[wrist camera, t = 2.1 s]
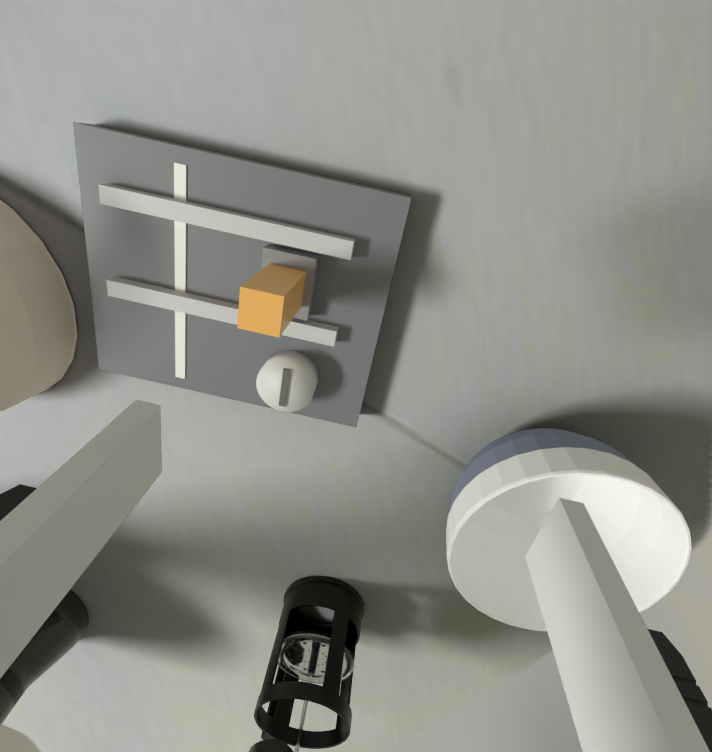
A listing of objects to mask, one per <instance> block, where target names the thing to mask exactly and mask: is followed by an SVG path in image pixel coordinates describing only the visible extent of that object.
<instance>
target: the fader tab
mask: <svg viewBox="0 0 712 752" xmlns="http://www.w3.org/2000/svg"><path fill="white" fill-rule="evenodd" d="M318 262H319V256H317V255H313V254H308V253H304V252H299V251H295V250H290V249H286V248H282V247H277V246H273V245H267V246H265V247H263V257H262V268H261V271H260V272H258V273H257V274H256V275H254V276H253V277H252V278H251V279H249V280H248V281H247V282H245V283H244V284H243V285H241V286H240V294H239V309H238V324H237V328H239V329H243V330H248V331H252V332H257V333H261V334H265V335H270V336H274V337H280V336H281V335H282V333H283V332H284V330H285V329H286V328H287V326H288V325H289V323H290V322H291V321H292V319H293V318H297V319H301V320H306V321H307V320H308V319H309V317H310V314H311V308H312V301H313V295H314V288H315V282H316V275H317V269H318Z"/></svg>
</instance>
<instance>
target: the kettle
mask: <svg viewBox="0 0 712 752" xmlns="http://www.w3.org/2000/svg"><path fill="white" fill-rule="evenodd" d="M77 335H78V334H77V326H76V318H75V309H74V304H73V301H72V299H71V296H70V294H69V291H68V288H67V286H66V283H65V280H64V278H63V275H62V273H61V271H60V269H59V268H58V266H57V265H56V263H55V261H54V260H53V258H52V257H51V255H50V253H49V252H48V250H47V249H46V247H45V246H44V244H43V242H42V241H41V240H40V239H39V237H38V236H37V235H36V234H35V233H34V232H33V231H32V230H31V229H30V228H29V226H28V225H27V224H26V223H25V222H24V221H23V220H22V219H21V218H20V217H19V215H18V214H17V213H16V212H15V211H14V210H13V209H12V208H10V207H9V206H8V205H6V204H5V203H4V202H3V201H1V200H0V411H2V410H6V409H8V408H10V407H12V406H14V405H16V404H18V403H20V402H22V401H24V400H26V399H28V398H30V397H32V396H34V395H36V394H38V393H41V392H44V391H46V390H47V389H48V388H50V387H51V386H52V385H54V384H55V383H56V382H58V381H59V380H60V379H62V377H63V376H64V374H65V372H66V371H67V369H68V367H69V366H70V364H71V362H72V361H73V358H74V352H75V347H76V341H77Z"/></svg>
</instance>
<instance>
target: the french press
mask: <svg viewBox="0 0 712 752" xmlns="http://www.w3.org/2000/svg"><path fill="white" fill-rule="evenodd" d="M303 606H320V607H326V608H329V609H332V610H335V612H334V618H333V624H323V623H318V622H315V621H312V620H310V619H308V618H306V617H305V616H303V615H302V614H301V613H300V612H299V611H298V609H297V608H298V607H303ZM363 613H364V603H363V600H362V598H361V596H360V595H359V593H358V592H357V591H356V590H355V589H354V588H352V587H351V586H349V585H348V584H346V583H344V582H342V581H340V580H337V579H334V578H329V577H323V576H312V577H306V578H302V579H299V580H297V581H295V582H294V583H292V584H291V585H290V586H289V587H288V589H287V590H286V593H285V596H284V607H283V610H282V614H281V618H280V622H279V628H278V632H277V635H276V639H275V643H274V646H273V650H272V654H271V657H270V661H269V665H268V668H267V672H266V676H265V679H264V683H263V687H262V690H261V693H260V695H259V698H258V701H257V705H256V709H255V713H254V718H255V721H256V723H257V725H258V726H259V727H260V728H261V729H262V730H263V731H262V735H261V738H262V739H263V741H260V742H258V743H256V744H254V745H253V746H252V747H251V749H250V751H249V752H293V750H292V749H291V748H290V747H289V746H288V745H287V744H289V745H292V746H296V747H295V752H299V748H300V747H302V748H310V749H322V748H329V747H334V746H337V745H339V744H341V743H343V742H344V741H345V740H346V739H347V738H348V737H349V734H350V728H351V718H352V712H351V708H350V706H349V704H350V695H351V685H352V676H353V668H354V656H355V647H356V644H357V643H358V641H359V637H360V626H361V619H362V617H363ZM277 664H278V665H279V668H278V672H277V676H276V680H275V684H273V680H274V676H275V672H276V668H277ZM299 679H300V680H304V681H307V682H308V683H307V682H299V681H298V680H299ZM341 680H342V682H341ZM311 682H312V683H323V687H322V686H319V685H316V684H312V683H311ZM340 683H341V690H340ZM339 691H340V695H339ZM294 699H302V700H304V705H303V710H302V716H301V721H300V726H299V729H295V728H292V727H289V723H290V718H291V713H292V708H293V704H294ZM269 701H270V703H269V707H268V711H267V713H266V712H265V711H264V709H263V707H262V705H263V704H265V703H267V702H269ZM308 701H311V702H314V703H318V704H321V705H323V706H325V707H327V708H329V709H331V710H333V711H334V712H336V713H337V714H338V715H337V723H336V729H334V730H330V731H322V732H313V731H304V730H303V726H304V720H305V714H306V709H307V703H308Z"/></svg>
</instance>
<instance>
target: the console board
mask: <svg viewBox="0 0 712 752" xmlns="http://www.w3.org/2000/svg"><path fill="white" fill-rule="evenodd" d="M73 125H74V135H75V144H76V154H77V163H78V173H79V183H80V192H81V202H82V211H83V221H84V230H85V240H86V250H87V259H88V269H89V278H90V288H91V297H92V307H93V317H94V326H95V336H96V345H97V355H98V364H99V369H101V370H105V371H109V372H114V373H118V374H123V375H127V376H132V377H136V378H140V379H145V380H149V381H154V382H158V383H163V384H167V385H171V386H176V387H180V388H185V389H189V390H193V391H198V392H202V393H207V394H211V395H216V396H220V397H224V398H229V399H233V400H238V401H242V402H247V403H251V404H255V405H260V406H264V407H269V408H273V409H276V410H279V411H283V412H291V413H295V414H300V415H304V416H308V417H313V418H317V419H322V420H326V421H331V422H335V423H339V424H344V425H348V426H353V427H356V426H357V422H358V418H359V414H360V410H361V406H362V402H363V397H364V393H365V389H366V385H367V381H368V377H369V372H370V368H371V364H372V360H373V356H374V352H375V348H376V343H377V339H378V335H379V331H380V327H381V323H382V318H383V314H384V310H385V306H386V302H387V298H388V293H389V289H390V285H391V281H392V277H393V273H394V269H395V264H396V260H397V256H398V252H399V248H400V244H401V239H402V235H403V231H404V227H405V223H406V219H407V214H408V210H409V206H410V202H411V196H410V195H405V194H401V193H396V192H392V191H387V190H383V189H378V188H374V187H370V186H365V185H361V184H356V183H352V182H347V181H343V180H338V179H334V178H329V177H325V176H321V175H316V174H312V173H307V172H303V171H298V170H294V169H289V168H285V167H280V166H276V165H272V164H267V163H263V162H258V161H254V160H249V159H245V158H240V157H236V156H231V155H227V154H223V153H218V152H214V151H209V150H205V149H200V148H196V147H191V146H187V145H183V144H178V143H174V142H169V141H165V140H160V139H156V138H151V137H147V136H142V135H138V134H134V133H129V132H125V131H120V130H116V129H111V128H107V127H102V126H98V125H93V124H84V123H75V122H73ZM267 245H273V246H277V247H282V248H286V249H290V250H295V251H299V252H304V253H308V254H313V255H317V256H319V262H318V269H317V275H316V282H315V288H314V295H313V301H312V308H311V314H310V317H309V319H308V320H307V321H306V320H301V319H297V318H293V319H292V321H291V322H290V323H289V325H288V326H287V328H286V329H285V330H284V332H283V333H282V335H281V336H280V337H274V336H270V335H265V334H261V333H257V332H252V331H248V330H243V329H239V328H237V324H238V309H239V294H240V286H241V285H243V284H244V283H245V282H247V281H248V280H249V279H251V278H252V277H253V276H254V275H256V274H257V273H258V272H260V271H261V268H262V257H263V247H265V246H267Z"/></svg>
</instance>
